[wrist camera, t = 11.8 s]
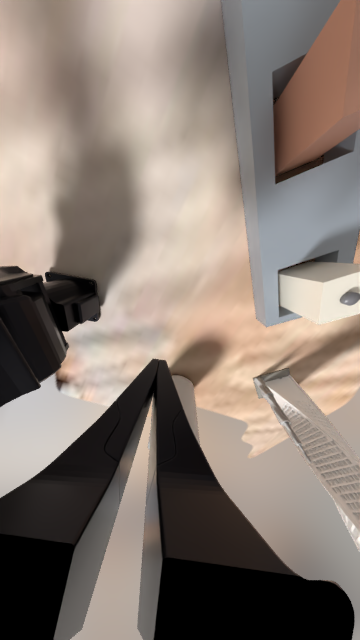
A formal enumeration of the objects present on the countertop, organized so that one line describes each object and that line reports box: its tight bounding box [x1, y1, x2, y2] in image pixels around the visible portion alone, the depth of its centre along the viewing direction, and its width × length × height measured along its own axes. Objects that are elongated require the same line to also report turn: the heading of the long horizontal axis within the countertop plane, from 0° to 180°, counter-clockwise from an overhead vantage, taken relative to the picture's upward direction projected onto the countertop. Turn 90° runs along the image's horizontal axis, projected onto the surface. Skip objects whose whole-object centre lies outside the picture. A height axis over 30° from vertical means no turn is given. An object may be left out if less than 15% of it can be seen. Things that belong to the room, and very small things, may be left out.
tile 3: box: [273, 0, 360, 177], centre depth 10 cm, size 4×4×8 cm
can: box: [148, 375, 200, 449], centre depth 23 cm, size 8×8×12 cm
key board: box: [221, 0, 360, 327], centre depth 12 cm, size 38×10×3 cm, turn 19°
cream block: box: [278, 261, 360, 325], centre depth 15 cm, size 4×4×8 cm
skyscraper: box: [253, 368, 360, 552], centre depth 16 cm, size 8×8×28 cm
